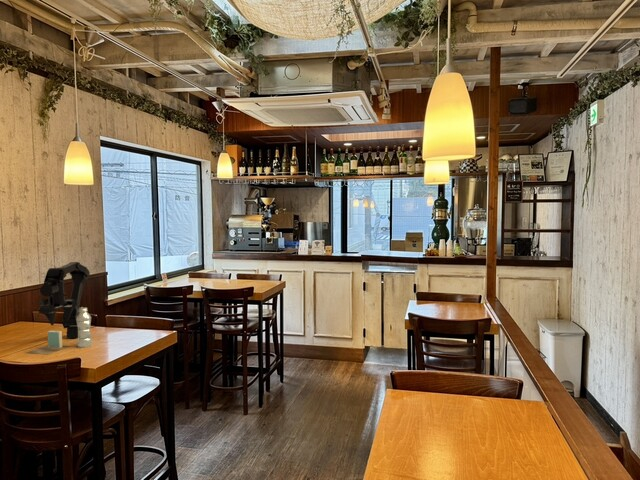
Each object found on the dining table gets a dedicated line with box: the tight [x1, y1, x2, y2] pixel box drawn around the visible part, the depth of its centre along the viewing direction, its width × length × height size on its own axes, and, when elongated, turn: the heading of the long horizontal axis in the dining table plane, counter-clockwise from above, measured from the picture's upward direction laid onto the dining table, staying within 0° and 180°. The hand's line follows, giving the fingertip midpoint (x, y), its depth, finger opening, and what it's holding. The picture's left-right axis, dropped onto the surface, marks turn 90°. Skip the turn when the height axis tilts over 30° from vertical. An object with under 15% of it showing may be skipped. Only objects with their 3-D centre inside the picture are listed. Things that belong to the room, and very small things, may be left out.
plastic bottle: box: [76, 306, 93, 349], centre depth 214 cm, size 6×7×20 cm
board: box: [25, 344, 72, 356], centre depth 210 cm, size 14×14×1 cm
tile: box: [47, 330, 63, 348], centre depth 214 cm, size 2×7×8 cm, turn 76°
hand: (59, 322), depth 217 cm, fingers open, 9 cm apart
